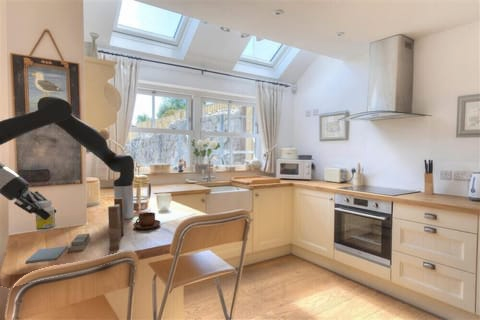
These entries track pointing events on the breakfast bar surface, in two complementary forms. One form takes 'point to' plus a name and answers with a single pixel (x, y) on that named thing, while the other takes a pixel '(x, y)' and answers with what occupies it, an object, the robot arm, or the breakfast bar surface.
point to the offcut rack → (114, 229)
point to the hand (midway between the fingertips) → (51, 215)
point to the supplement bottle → (48, 223)
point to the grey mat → (47, 254)
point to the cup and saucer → (146, 221)
